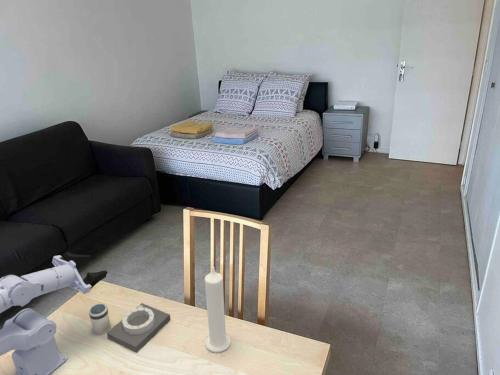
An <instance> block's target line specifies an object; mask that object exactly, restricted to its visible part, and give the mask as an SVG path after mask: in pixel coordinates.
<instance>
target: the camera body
mask: <svg viewBox="0 0 500 375" xmlns="http://www.w3.org/2000/svg"><path fill="white" fill-rule="evenodd" d="M170 321H171V314H170V313H168V312H165V311H163V310H160V309H158V308H155V307H153V306H150V305H148V304H145V303H143V302H142V303H140V304H139V305H138V306H136V307H135V308H134V309H131V310H129V311H128V312H127V313H125V314H124V315H123V318H122V319H121V320H120V321H119V322H118V323H116V324H115V325H114V326H113V327H111V328H110V330H109V331H108V332H106V336H107V339H108V340H110V341H113V342H114V343H117V344H119V345H120V346H123V347H125V348H126V349H128V350H130V351H133V352H135V353H138V352H139V351H140V350H142V348H143V347H145V345H147V343H148V342H150V341H151V339H153V338H154V336H156V334H158V333H159V332H160V331H161V330H162V329H163V328H164V327H165V326H166V324H168V323H169V322H170Z"/></svg>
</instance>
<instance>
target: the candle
mask: <svg viewBox="0 0 500 375" xmlns="http://www.w3.org/2000/svg"><path fill="white" fill-rule="evenodd" d="M210 269H211V270H210V273H208V274H206V275H205V277H204V287H205V300H206V313H207V324H208V325H207V326H208V335H207V337H206V338H205V340H204V345H205V346H204V347H205V348H206V349H207V350H208V352H211V353H216V354H217V353H220V354H221V353H223V352H225V351H227V350H228V349H229V348H230V346H231V345H232V344H231V343H232V342H231V337H230V335H229V334H228V333H226V315H225V299H224V297H225V296H224V281H223V275H222V274H221V273H219V272H216V270H215V267H214V266H212V267H211V268H210Z"/></svg>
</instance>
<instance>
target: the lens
mask: <svg viewBox="0 0 500 375" xmlns="http://www.w3.org/2000/svg"><path fill="white" fill-rule="evenodd" d="M88 316H89V318H90V319H89V320H90V322H91V326H92V332H93V333H94V334H95V335H104V334H107V332H108V331H109V330H111V329H112V327H111V326H112V325H111V320H110V317H109V316H110V315H109V309H108V306H107V304H104V303H97V304H95V305H93V306H91V307H90V308H89V309H88Z"/></svg>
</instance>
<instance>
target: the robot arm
mask: <svg viewBox="0 0 500 375" xmlns="http://www.w3.org/2000/svg"><path fill="white" fill-rule="evenodd" d="M91 259H92V256H91V255H89V254H87V255H86V254H75V253H71V252H68V251H67V252H64V253H63V256H62V255H54V256H53V257H52V261H51V263H52V265H53V267H51V268H45V269H43V270H38V271H35V272H31V273H28V274H24V275H21V276H20V277H19V276H17V275H15V274H8V275H5V276H2V277H1V278H0V314H1V313H3V312H5V311H7V310H8V309H10V308H12V307H13V306H14V307H17V306H20V308H21V307H24V306H25V305H27V304H29V303H30V302H31V300H33V299H34V298H38V297H39V296H42V295H45V294H48V293H51V292H54V291H57V290H60V289H64V288H67V287H69V288H72V289H74V290H77V291H79V292H80V293H82V294H83V295H85V294H87V293H90V292H91V290H92V289H93V288H94V287H95V286H96V285H97V284H98V283H100V281H102V280H103V279H106V278H107V275H108V271H107V270H100V271H95V272H89V271H87V272H86V276H85V277H84V278H82V277H81V275H80V272H79V271H78V269H77V267H80V266H84V265H86V264H88V263H90V260H91ZM56 332H57V324H56V323H55V321H53V320H51V319H49V318H47V317H46V316H43V315H42V314H40V313H39V312H37V311H36V310H34V309H32V308H29V307H28V308H24V309H22V310H20V311H19V312H17V313H16V314H15V315H14V316H13V317H11V318H9V319H7V320H5V322H4V324H3V327H2V328H1V329H0V357H1V356H3V355H5V354H7V353H9V352H11V351H12V353H11V358H12V362H13V364H14V367H15V370H16V371H15V374H16V375H51V373H53V372H54V371H55V370H56V369H57V368H59V367H60V366H61V365H62V364H64V363H65V362H66V361H67V360H68V359H69V358H68V356H67V355H66V354H64V353H61V352H60V351H59V349H58V345H57V342H56V338H55V336H56Z"/></svg>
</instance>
